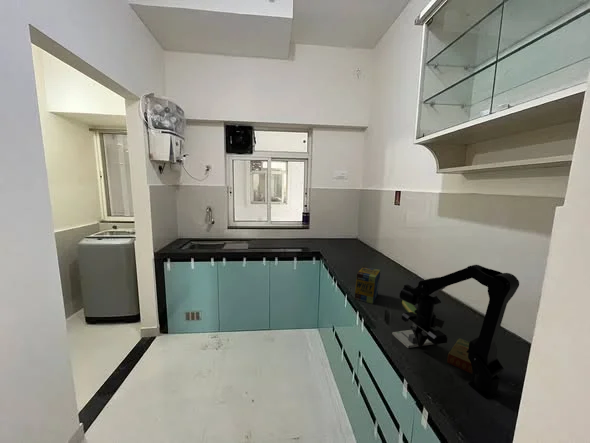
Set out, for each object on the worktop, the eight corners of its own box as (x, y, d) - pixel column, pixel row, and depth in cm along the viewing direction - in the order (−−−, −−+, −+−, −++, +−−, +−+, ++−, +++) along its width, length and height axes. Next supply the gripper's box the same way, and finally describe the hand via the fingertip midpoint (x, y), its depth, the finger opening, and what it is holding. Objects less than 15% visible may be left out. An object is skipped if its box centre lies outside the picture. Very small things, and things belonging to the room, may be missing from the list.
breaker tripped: (418, 343, 110) (419, 337, 110) (412, 343, 110) (413, 338, 109) (413, 338, 113) (414, 333, 113) (407, 339, 113) (408, 333, 112)
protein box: (354, 299, 152) (356, 273, 149) (360, 290, 165) (363, 266, 163) (372, 304, 147) (375, 277, 145) (378, 294, 160) (380, 269, 158)
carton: (446, 363, 101) (447, 352, 101) (457, 346, 113) (458, 336, 112) (471, 374, 96) (473, 363, 95) (480, 355, 107) (482, 345, 107)
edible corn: (409, 298, 148) (402, 295, 148) (426, 317, 128) (417, 314, 128) (406, 306, 149) (398, 303, 149) (421, 326, 129) (413, 323, 129)
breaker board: (435, 343, 113) (435, 341, 113) (407, 348, 109) (408, 345, 109) (418, 330, 122) (418, 328, 122) (392, 334, 118) (392, 332, 118)
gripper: (462, 320, 99) (455, 358, 101) (424, 298, 116) (419, 331, 119) (437, 323, 96) (431, 362, 98) (403, 300, 113) (398, 334, 116)
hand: (420, 346), depth 108 cm, fingers closed
